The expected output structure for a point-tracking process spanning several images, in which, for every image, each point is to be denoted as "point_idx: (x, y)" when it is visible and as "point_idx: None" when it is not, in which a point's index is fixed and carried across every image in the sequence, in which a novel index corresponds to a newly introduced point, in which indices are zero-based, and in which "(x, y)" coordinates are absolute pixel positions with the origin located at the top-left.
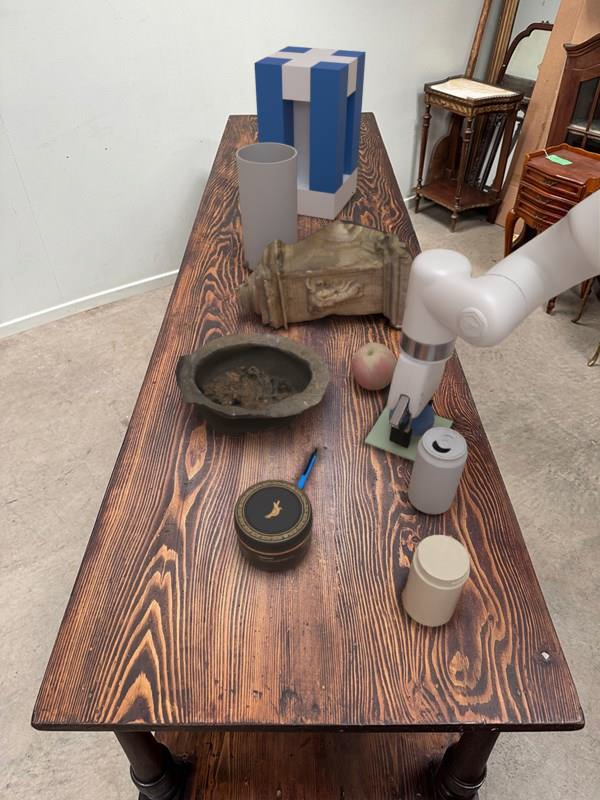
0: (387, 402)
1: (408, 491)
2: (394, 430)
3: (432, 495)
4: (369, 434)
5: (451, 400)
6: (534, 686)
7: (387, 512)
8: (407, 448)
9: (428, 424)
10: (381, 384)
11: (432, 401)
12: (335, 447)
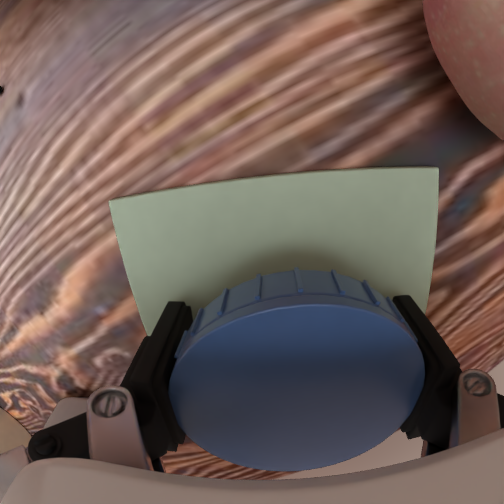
0: (4, 499)
1: (56, 408)
2: (123, 382)
3: None
4: (154, 196)
5: (487, 347)
6: None
7: (19, 362)
8: None
9: (262, 467)
10: (484, 111)
11: (415, 434)
12: (36, 124)
